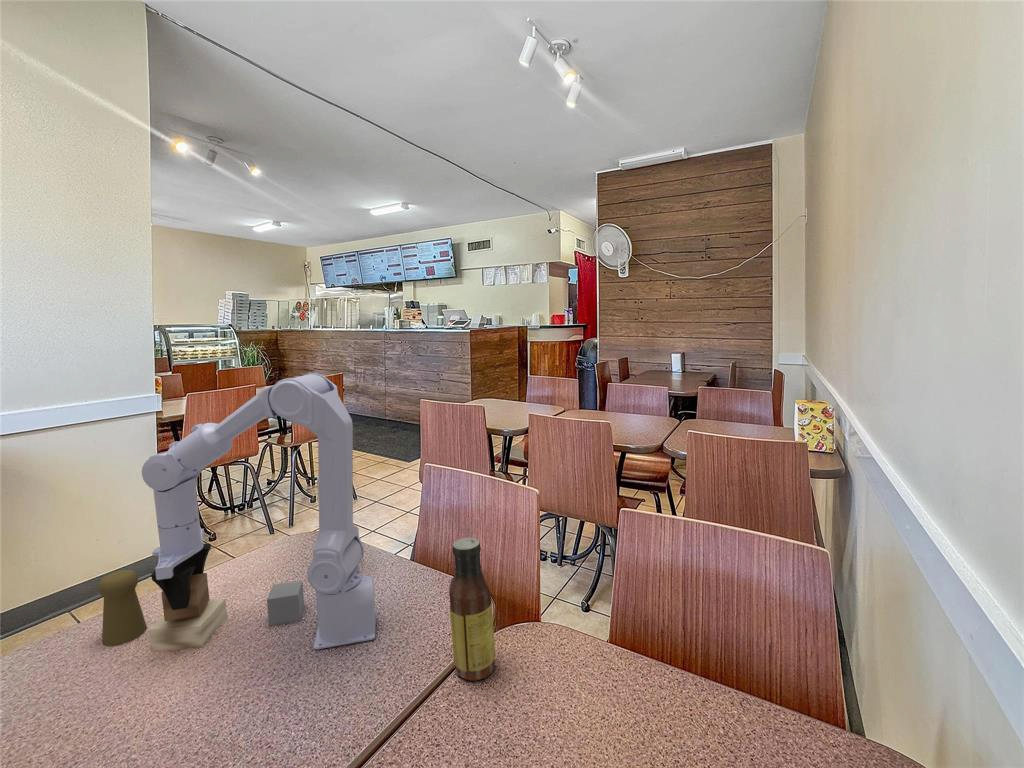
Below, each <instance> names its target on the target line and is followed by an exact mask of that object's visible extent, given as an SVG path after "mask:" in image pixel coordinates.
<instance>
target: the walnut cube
mask: <svg viewBox="0 0 1024 768" xmlns="http://www.w3.org/2000/svg"><path fill="white" fill-rule="evenodd" d="M207 573H208V572H203V573H202V574H195V575H192V577H191V581H190V594H189V603H188V606H187V608H184V609H177V610H172V608H171V606H170V604H169V602H168V600H167V598H166V596H165V594H164V592H163V591H161V593H160V594H161V603H162V611H163V616H164V619H165V621H171V620H177V619H183V618H190V617H196V616H200V614H201V613H202V611H203V609H204V608H205V606H206V604H207V603H208V601H209V600H210V593H209V583H208V574H207Z"/></svg>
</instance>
